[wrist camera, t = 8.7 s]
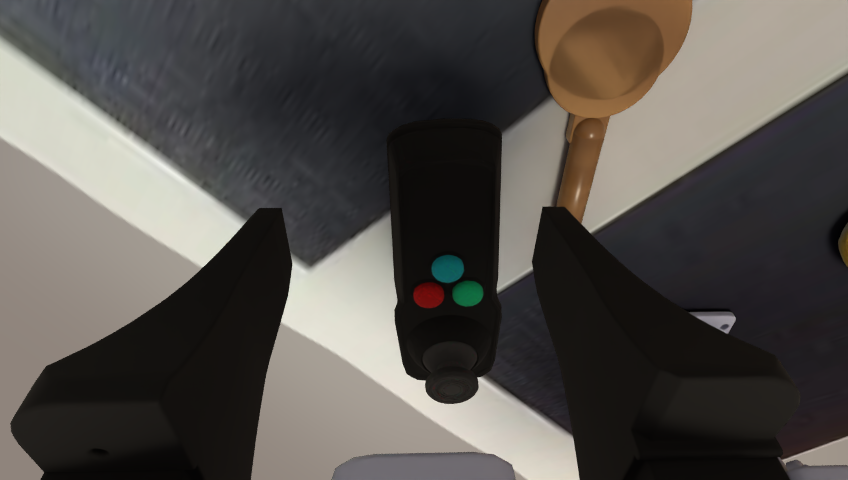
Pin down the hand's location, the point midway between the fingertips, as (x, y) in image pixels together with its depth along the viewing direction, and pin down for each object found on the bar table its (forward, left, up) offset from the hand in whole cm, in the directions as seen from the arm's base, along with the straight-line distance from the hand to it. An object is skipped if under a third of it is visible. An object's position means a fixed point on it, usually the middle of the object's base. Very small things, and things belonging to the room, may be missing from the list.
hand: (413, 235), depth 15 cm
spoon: (-3, -8, -10) cm, 14 cm away
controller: (-5, -1, -11) cm, 12 cm away
